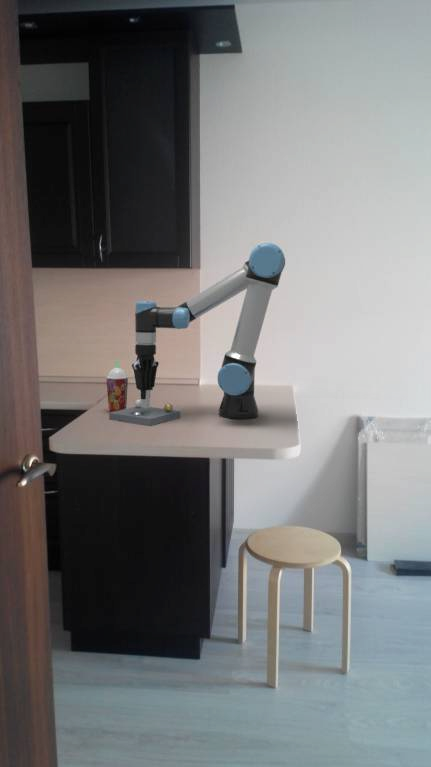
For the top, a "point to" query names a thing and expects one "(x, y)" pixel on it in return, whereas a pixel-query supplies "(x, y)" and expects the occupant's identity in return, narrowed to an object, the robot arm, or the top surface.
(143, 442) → the top surface
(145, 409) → the bearing plate
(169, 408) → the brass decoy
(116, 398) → the smoothie
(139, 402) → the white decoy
